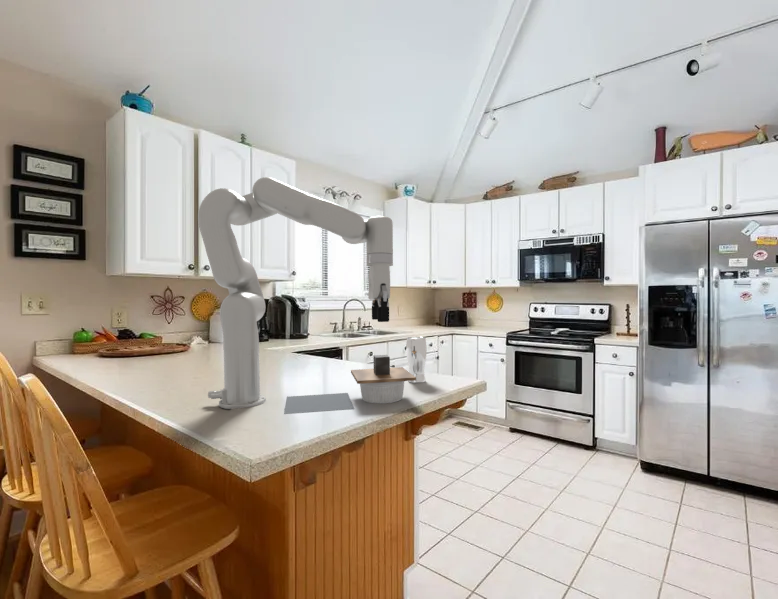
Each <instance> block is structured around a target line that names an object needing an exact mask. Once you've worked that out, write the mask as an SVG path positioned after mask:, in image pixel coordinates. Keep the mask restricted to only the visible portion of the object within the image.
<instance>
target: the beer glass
mask: <svg viewBox="0 0 778 599" xmlns="http://www.w3.org/2000/svg"><path fill="white" fill-rule="evenodd" d="M405 344H406V347H405V351H406V361H407V364H408V365H407V366H408V372H409V373H411V374H412V375H413V376H415V377H416V380H414V381H407V382H408V383H410V384H423V383H426V376H425V367H426V360H427V353H428V352H427V338H426V337H423V336H410V337H406V343H405Z"/></svg>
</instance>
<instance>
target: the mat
mask: <svg viewBox="0 0 778 599" xmlns="http://www.w3.org/2000/svg"><path fill="white" fill-rule="evenodd" d="M346 410H348V411H349V410H355V406H354V405H353V402H352V400H351V397H350V396H349V392H340V393H339V392H338V393H337V392H336V393H326V394H325V393H323V394H310V395H309V394H308V395H293V396H292V395H291V396H289V395H288V396H286V400H285V404H284V412H283V415H291V414H304V413H307V414H308V413H319V412H332V411H333V412H335V411H346Z"/></svg>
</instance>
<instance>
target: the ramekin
mask: <svg viewBox="0 0 778 599" xmlns="http://www.w3.org/2000/svg"><path fill="white" fill-rule="evenodd" d="M405 382H406V381H397V382H380V383H364V384H359V386H360V388H359V389H360V392H361V398H362V400H363V401H364V402H366V403H370V404H392V403H396V402H399V401H401V400H402V399H403V396H404V387H405Z"/></svg>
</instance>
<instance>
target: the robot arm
mask: <svg viewBox="0 0 778 599" xmlns="http://www.w3.org/2000/svg"><path fill="white" fill-rule="evenodd" d="M277 214H279V215H280V216H282V217H285V218H287V219H290V220H292V221H294V222H296V223H299V224H302V225H304V226H306V225H307V226H315V227H317V228H320V229H323V230H325V231H327V232H330V233H333V234H335V235H337V236H340V237H341V238H342V240H343V241H344V242H346V243H348V244H350V245H357V244H364V243H365V244H366V266H367V267H369V269H368V270H369V271H368V291H367V292H368V294H367V295H368V296H367V297H368V300H370V301H371V319H372V320H373V321H374V320H377V322H378V323H388V322H390V303H389V300H390V298H391V275H390V274H391V270H390V267H392V266H393V267H394V255H393V254H394V249H393V246H394V245H393V244H394V238H393V237H394V235H393V234H394V229H393V227H394V226H393V225H394V222H393V220H392V219H391V218H390V217H389V216H383V215H376V216H375V215H374V216H371V217H368V218H367V219H364V218H363V217H362V216H361V215H360V213H357V212H355V211H353V210H350V209H348V208H346V207H345V206H342V205H339V204H337V203H335V202H332V201H329V200H327V199H323V198H320V197H318V196H315V195H313V194H309V193H308V192H305V191H303V190H300V189H298V188H296V187H294V186H291V185H289V184H287V183H284V182H283V181H280V180H277V179H276V178H273V177H270V176H269V177H266V176H265V177H263V176H262V177H261V178H258V179H257V180H256V181H255V182H254V183H253V186H252V190H251V193H247V194H244V195H242V196H241V195H240V194H239V193H237V192H236V191H234V190H232V189H228V188H224V187H223V188H216V189H214V190H212V191H210V192H209V193H208V194H207V195H206V196H205V197H204V198H203V200H202V201H201V203H200V206H199V208H198V212H197V222H198V228H199V232H200V235H201V238H202V241H203V245H204V248H205V252H206V256H207V258H208V262H209V266H210V269H211V273H212V278H213V280H214V281H215V282H216V284H217V285H218V286H220V287H221V288H223V289H224V288H225V289H227V290H228V295H227V296H226V297H225V298H224V299H223V300H222V303H221V305H220V309H219V318H220V323H221V331H222V332H221V333H222V344H223V346H222V347H223V348H222V351H223V380H224V382H223V383H224V384H223V385H224V387H223V389H220V390H209V391H207V392H208V393H207V396H208V398H209V399H211V400H215V399H220V400H219V401H218V407H220V408H221V409H225V410H233V409H243V408H244V409H245V408H252V407H257V406H259V405H262V404H265V403H266V401H267V398H266V396H265V395H263V394H261V380H260V379H261V376H260V372H261V371H260V339H259V329H258V321H260V320H261V319H262V318H263V317H264V315H265V313H266V301H265V296H264V294H263V290H262V287H261V284H260V281H259V278H258V274H257V272H256V270H255V267H254V266H253V264H252V263H251V262H250V261H249V260H248V259H246V258H244V257H242V254H241V251H240V249H239V246H238V242H237V238H236V235H235V233H234V231H233V229H232V226H233V225H234V226H245V225H249V224H252V223H255V222H258V221H260V220H263V219H266V218H269V217H271V216H275V215H277Z"/></svg>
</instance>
